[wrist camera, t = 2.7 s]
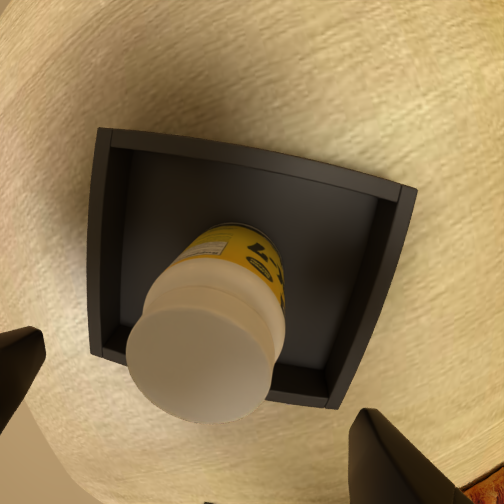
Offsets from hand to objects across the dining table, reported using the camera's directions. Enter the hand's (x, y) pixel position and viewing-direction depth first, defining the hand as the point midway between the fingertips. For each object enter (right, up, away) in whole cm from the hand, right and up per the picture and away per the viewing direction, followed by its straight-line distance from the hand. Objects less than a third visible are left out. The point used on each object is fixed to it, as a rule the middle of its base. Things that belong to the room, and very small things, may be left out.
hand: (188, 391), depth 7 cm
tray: (+1, +3, +9) cm, 9 cm away
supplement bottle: (+1, +3, +9) cm, 9 cm away
